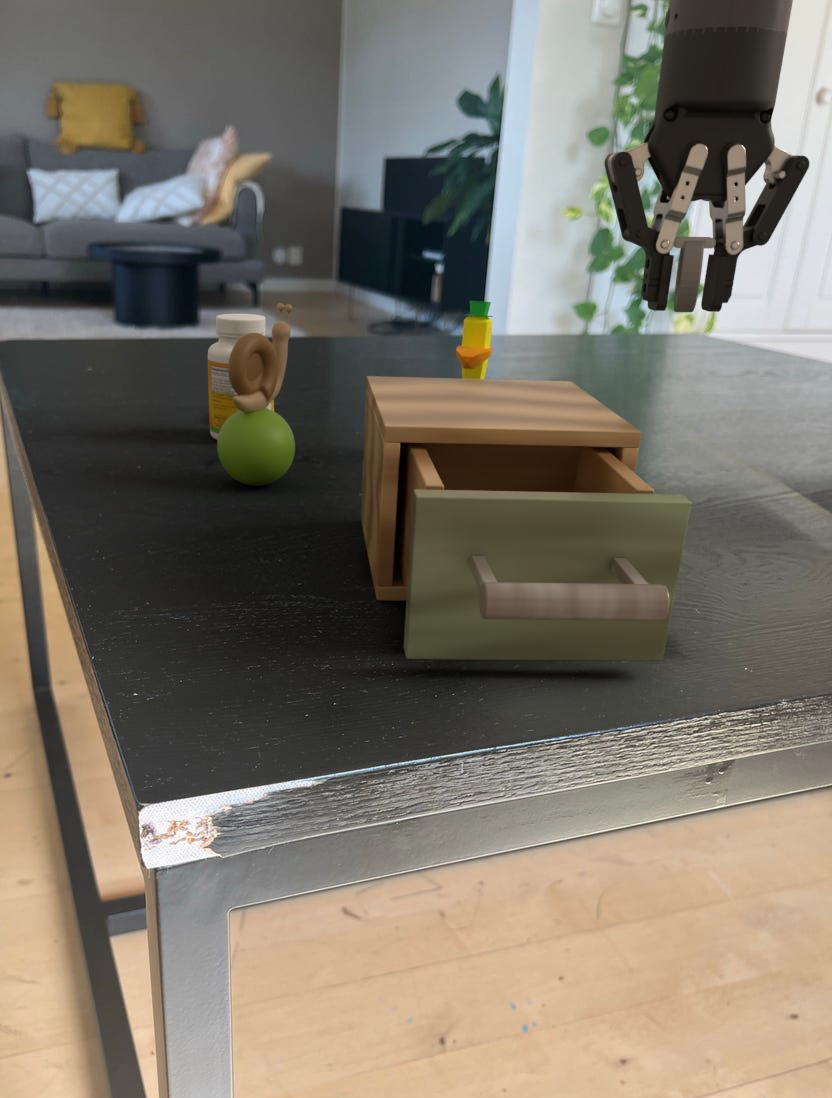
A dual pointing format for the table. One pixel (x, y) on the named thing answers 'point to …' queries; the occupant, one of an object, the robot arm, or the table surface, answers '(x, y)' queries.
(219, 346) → the supplement bottle
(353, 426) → the table surface
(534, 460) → the drawer
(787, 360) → the table surface
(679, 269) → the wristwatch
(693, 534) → the table surface
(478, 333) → the toy figure
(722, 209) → the robot arm
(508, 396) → the cabinet
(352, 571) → the table surface
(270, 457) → the snail figurine
